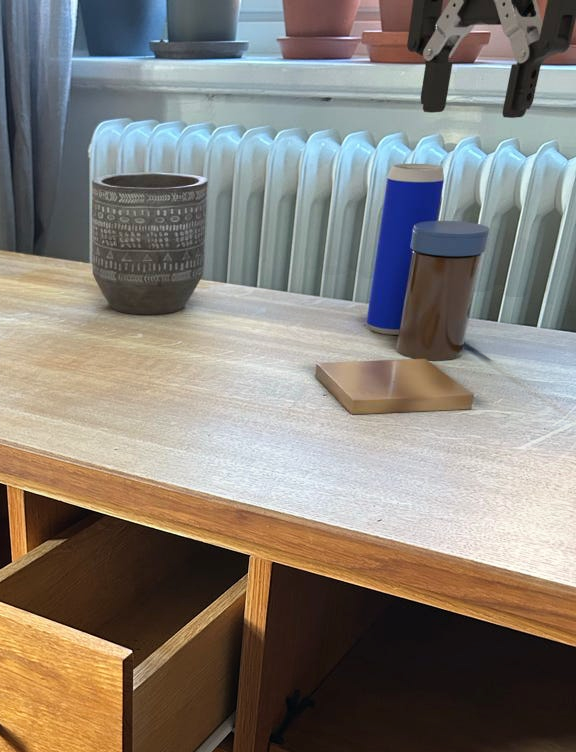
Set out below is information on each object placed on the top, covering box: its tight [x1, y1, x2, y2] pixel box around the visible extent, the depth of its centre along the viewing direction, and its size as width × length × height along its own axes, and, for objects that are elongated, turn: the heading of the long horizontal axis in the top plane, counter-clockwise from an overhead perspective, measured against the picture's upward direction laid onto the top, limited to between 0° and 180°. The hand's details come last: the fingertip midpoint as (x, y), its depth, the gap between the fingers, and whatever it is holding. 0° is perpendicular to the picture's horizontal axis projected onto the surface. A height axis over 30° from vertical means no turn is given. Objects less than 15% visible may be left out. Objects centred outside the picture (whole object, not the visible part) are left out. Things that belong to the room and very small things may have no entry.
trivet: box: [314, 358, 475, 415], centre depth 81 cm, size 10×10×1 cm
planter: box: [91, 171, 209, 316], centre depth 103 cm, size 12×12×13 cm
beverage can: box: [366, 163, 445, 336], centre depth 93 cm, size 5×5×15 cm
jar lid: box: [410, 220, 490, 256], centre depth 86 cm, size 6×6×2 cm
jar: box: [395, 250, 483, 361], centre depth 88 cm, size 6×6×11 cm
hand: (471, 114), depth 80 cm, fingers open, 7 cm apart
